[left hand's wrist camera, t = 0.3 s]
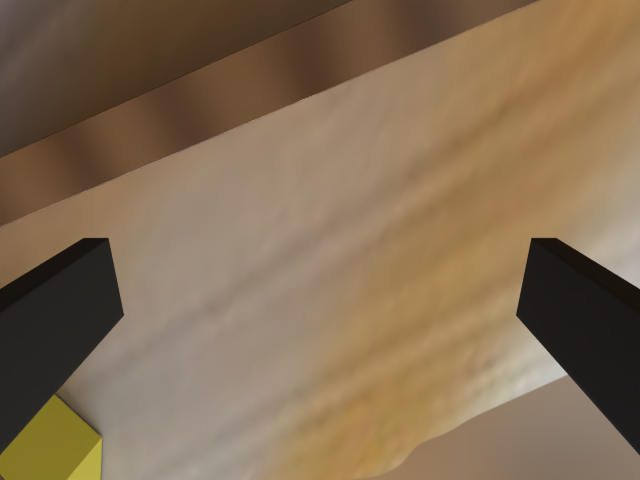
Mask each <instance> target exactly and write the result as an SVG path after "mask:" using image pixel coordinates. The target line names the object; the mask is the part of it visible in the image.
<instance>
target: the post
mask: <svg viewBox="0 0 640 480" xmlns="http://www.w3.org/2000/svg"><path fill="white" fill-rule="evenodd" d="M538 1H540V0H351V1H349V2H347V3H345V4H342V5H340V6H338V7H336V8H333V9H331V10H329V11H327V12H325V13H322V14H320V15H318V16H316V17H313V18H311V19H309V20H307V21H304V22H302V23H300V24H298V25H295V26H293V27H291V28H289V29H287V30H284V31H282V32H280V33H278V34H275V35H273V36H271V37H269V38H266V39H264V40H262V41H260V42H258V43H255V44H253V45H251V46H249V47H246V48H244V49H242V50H240V51H237V52H235V53H233V54H231V55H228V56H226V57H224V58H222V59H220V60H217V61H215V62H213V63H211V64H208V65H206V66H204V67H202V68H199V69H197V70H195V71H193V72H190V73H188V74H186V75H184V76H182V77H179V78H177V79H175V80H173V81H170V82H168V83H166V84H164V85H161V86H159V87H157V88H155V89H153V90H150V91H148V92H146V93H144V94H141V95H139V96H137V97H135V98H132V99H130V100H128V101H126V102H123V103H121V104H119V105H117V106H115V107H112V108H110V109H108V110H106V111H103V112H101V113H99V114H97V115H94V116H92V117H90V118H88V119H85V120H83V121H81V122H79V123H77V124H74V125H72V126H70V127H68V128H65V129H63V130H61V131H59V132H56V133H54V134H52V135H50V136H48V137H45V138H43V139H41V140H39V141H36V142H34V143H32V144H30V145H27V146H25V147H23V148H21V149H18V150H16V151H14V152H12V153H10V154H7V155H5V156H3V157H1V158H0V227H2V226H4V225H7V224H9V223H12V222H14V221H16V220H19V219H21V218H24V217H26V216H28V215H31V214H33V213H35V212H38V211H40V210H43V209H45V208H47V207H50V206H52V205H54V204H57V203H59V202H62V201H64V200H66V199H69V198H71V197H74V196H76V195H78V194H81V193H83V192H85V191H88V190H90V189H93V188H95V187H97V186H100V185H102V184H104V183H107V182H109V181H112V180H114V179H116V178H119V177H121V176H124V175H126V174H128V173H131V172H133V171H135V170H138V169H140V168H143V167H145V166H147V165H150V164H152V163H154V162H157V161H159V160H162V159H164V158H166V157H169V156H171V155H174V154H176V153H178V152H181V151H183V150H185V149H188V148H190V147H193V146H195V145H197V144H200V143H202V142H204V141H207V140H209V139H212V138H214V137H216V136H219V135H221V134H224V133H226V132H228V131H231V130H233V129H235V128H238V127H240V126H243V125H245V124H247V123H250V122H252V121H254V120H257V119H259V118H262V117H264V116H266V115H269V114H271V113H274V112H276V111H278V110H281V109H283V108H285V107H288V106H290V105H293V104H295V103H297V102H300V101H302V100H304V99H307V98H309V97H312V96H314V95H316V94H319V93H321V92H324V91H326V90H328V89H331V88H333V87H335V86H338V85H340V84H343V83H345V82H347V81H350V80H352V79H354V78H357V77H359V76H362V75H364V74H366V73H369V72H371V71H374V70H376V69H378V68H381V67H383V66H385V65H388V64H390V63H393V62H395V61H397V60H400V59H402V58H404V57H407V56H409V55H412V54H414V53H416V52H419V51H421V50H424V49H426V48H428V47H431V46H433V45H435V44H438V43H440V42H443V41H445V40H447V39H450V38H452V37H454V36H457V35H459V34H462V33H464V32H466V31H469V30H471V29H474V28H476V27H478V26H481V25H483V24H485V23H488V22H490V21H493V20H495V19H497V18H500V17H502V16H504V15H507V14H509V13H512V12H514V11H516V10H519V9H521V8H524V7H526V6H528V5H531V4H533V3H535V2H538Z"/></svg>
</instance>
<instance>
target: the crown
mask: <svg viewBox="0 0 640 480" xmlns="http://www.w3.org/2000/svg"><path fill="white" fill-rule="evenodd" d="M101 451H102V437H101V436H100V435H99V434H97V433H96V432H95V431H94V430H93V429H92V428H91V427H90V426H89V425H88V424H86V423H85V422H84V421H83V420H82V419H81V418H80V417H79V416H78V415H77V414H75V413H74V412H73V411H72V410H71V409H70V408H69V407H68V406H67V405H66V404H65V403H63V402H62V401H61V400H60V399H59V398H58V397H57V396H56V395H55V394H54V395H53V396H52V397H51V398H50V400H49V401H48V402H47V403H46V404H45V405H44V406H43V407H42V409H41V410H40V411H39V412H38V413H37V414H36V415H35V417H34V418H33V419H32V420H31V421H30V422H29V423H28V424H27V426H26V427H25V428H24V429H23V430H22V431H21V432H20V433H19V435H18V436H17V437H16V438H15V439H14V440H13V441H12V443H11V444H10V445H9V446H8V447H7V448H6V449H5V450H4V452H3V453H2V454H1V455H0V475H1V476H2V477H3V478H4V479H5V480H100V479H101Z"/></svg>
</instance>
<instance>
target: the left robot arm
mask: <svg viewBox="0 0 640 480" xmlns="http://www.w3.org/2000/svg"><path fill="white" fill-rule="evenodd" d="M123 316H124V313H123V308H122V303H121V298H120V293H119V288H118V283H117V278H116V273H115V268H114V263H113V258H112V253H111V248H110V243H109V238H83V239H81V240H80V241H78V242H76V243H75V244H73V245H71V246H70V247H68V248H67V249H65V250H63V251H62V252H60V253H58V254H57V255H55V256H53V257H52V258H50V259H49V260H47V261H45V262H44V263H42V264H40V265H39V266H37V267H35V268H34V269H32V270H31V271H29V272H27V273H26V274H24V275H22V276H21V277H19V278H18V279H16V280H14V281H13V282H11V283H9V284H8V285H6V286H4V287H3V288H1V289H0V455H1V454H2V453H3V452H4V450H5V449H6V448H7V447H8V446H9V445H10V444H11V443H12V441H13V440H14V439H15V438H16V437H17V436H18V435H19V433H20V432H21V431H22V430H23V429H24V428H25V427H26V426H27V424H28V423H29V422H30V421H31V420H32V419H33V418H34V417H35V415H36V414H37V413H38V412H39V411H40V410H41V409H42V407H43V406H44V405H45V404H46V403H47V402H48V401H49V400H50V398H51V397H52V396H53V395H54V394H55V393H56V392H57V390H58V389H59V388H60V387H61V386H62V385H63V384H64V383H65V381H66V380H67V379H68V378H69V377H70V376H71V375H72V374H73V372H74V371H75V370H76V369H77V368H78V367H79V366H80V364H81V363H82V362H83V361H84V360H85V359H86V358H87V357H88V355H89V354H90V353H91V352H92V351H93V350H94V349H95V348H96V346H97V345H98V344H99V343H100V342H101V341H102V340H103V338H104V337H105V336H106V335H107V334H108V333H109V332H110V331H111V329H112V328H113V327H114V326H115V325H116V324H117V323H118V321H119V320H120V319H121V318H122V317H123ZM516 316H517V317H518V318H519V319H520V320H521V321H522V323H523V324H524V325H525V326H526V327H527V328H528V329H529V331H530V332H531V333H532V334H533V335H534V336H535V337H536V338H537V340H538V341H539V342H540V343H541V344H542V345H543V346H544V348H545V349H546V350H547V351H548V352H549V353H550V354H551V355H552V357H553V358H554V359H555V360H556V361H557V362H558V363H559V364H560V366H561V367H562V368H563V369H564V370H565V371H566V372H567V374H568V375H569V376H570V377H571V378H572V379H573V380H574V381H575V383H576V384H577V385H578V386H579V387H580V388H581V389H582V390H583V392H584V393H585V394H586V395H587V396H588V397H589V398H590V400H591V401H592V402H593V403H594V404H595V405H596V406H597V407H598V409H599V410H600V411H601V412H602V413H603V414H604V415H605V417H606V418H607V419H608V420H609V421H610V422H611V423H612V424H613V426H614V427H615V428H616V429H617V430H618V431H619V432H620V433H621V434H622V436H623V437H624V438H625V439H626V440H627V441H628V442H629V444H630V445H631V446H632V447H633V448H634V449H635V450H636V452H637V453H638V454H639V455H640V289H639V288H637V287H636V286H634V285H632V284H631V283H629V282H627V281H626V280H624V279H622V278H621V277H619V276H618V275H616V274H614V273H613V272H611V271H609V270H608V269H606V268H604V267H603V266H601V265H600V264H598V263H596V262H595V261H593V260H591V259H590V258H588V257H587V256H585V255H583V254H582V253H580V252H578V251H577V250H575V249H573V248H572V247H570V246H569V245H567V244H565V243H564V242H562V241H560V240H559V239H557V238H531V243H530V248H529V253H528V258H527V263H526V268H525V273H524V278H523V283H522V288H521V293H520V298H519V303H518V308H517V313H516Z"/></svg>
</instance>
